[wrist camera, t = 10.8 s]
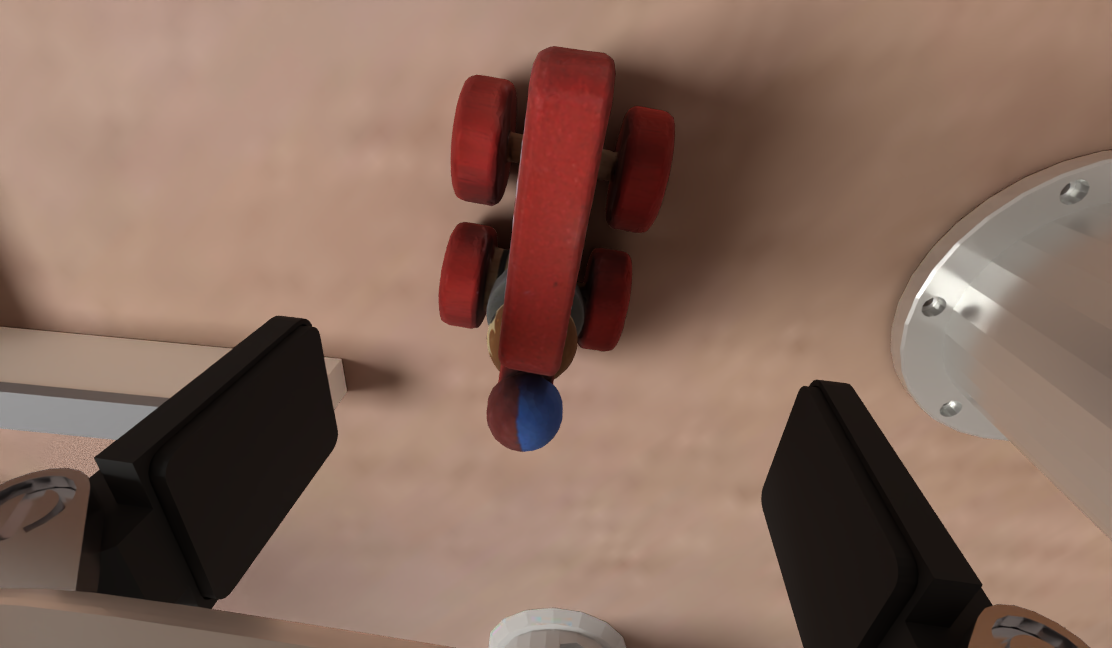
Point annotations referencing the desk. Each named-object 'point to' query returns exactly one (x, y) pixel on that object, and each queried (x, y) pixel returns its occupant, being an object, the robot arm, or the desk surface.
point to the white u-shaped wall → (100, 380)
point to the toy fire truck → (547, 228)
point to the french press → (554, 631)
